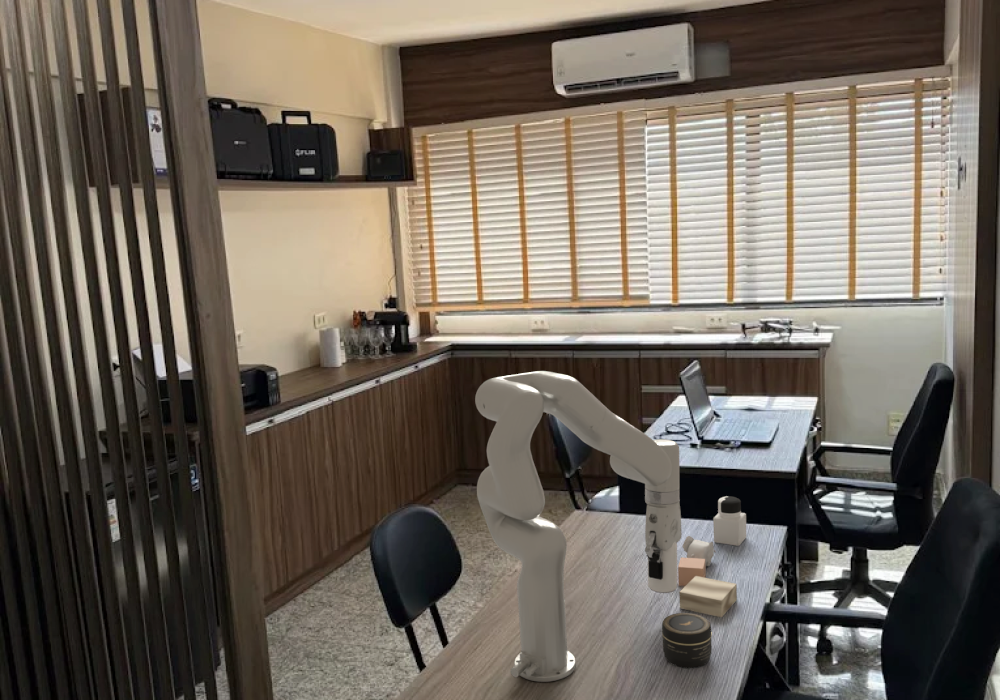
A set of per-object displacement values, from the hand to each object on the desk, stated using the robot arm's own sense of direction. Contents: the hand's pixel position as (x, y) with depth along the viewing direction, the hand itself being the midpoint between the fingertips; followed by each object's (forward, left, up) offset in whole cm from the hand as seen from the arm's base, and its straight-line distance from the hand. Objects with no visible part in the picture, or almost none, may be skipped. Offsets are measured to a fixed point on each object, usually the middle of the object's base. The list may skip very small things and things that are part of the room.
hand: (662, 572), depth 191 cm
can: (0, 0, -4) cm, 4 cm away
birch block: (+11, -6, -11) cm, 17 cm away
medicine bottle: (+51, +3, -11) cm, 52 cm away
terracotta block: (+21, +2, -11) cm, 24 cm away
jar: (-14, -11, -11) cm, 21 cm away
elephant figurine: (+32, +4, -11) cm, 34 cm away
